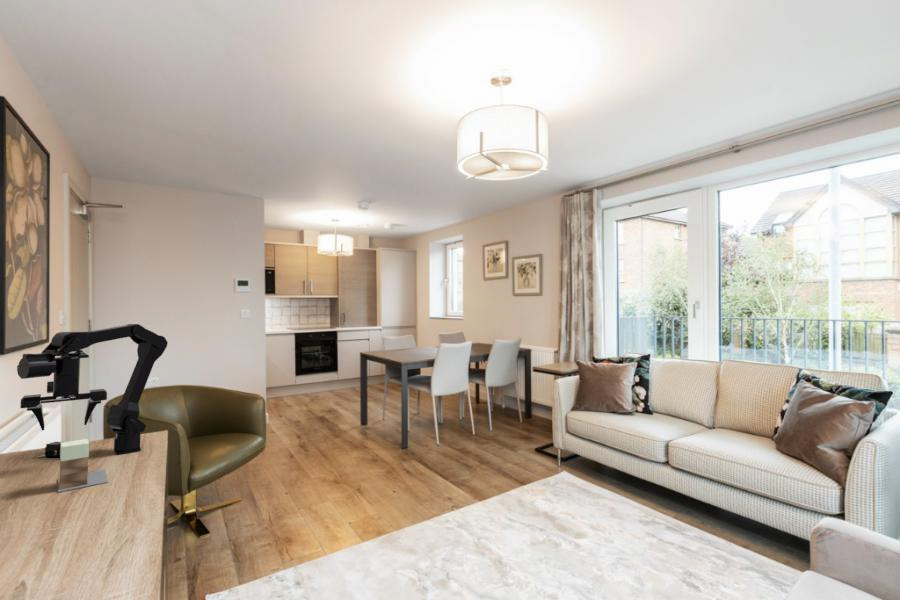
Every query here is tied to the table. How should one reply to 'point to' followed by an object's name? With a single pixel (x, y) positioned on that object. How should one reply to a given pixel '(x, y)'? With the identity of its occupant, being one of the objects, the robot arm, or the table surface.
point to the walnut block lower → (73, 480)
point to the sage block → (74, 449)
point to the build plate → (51, 450)
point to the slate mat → (90, 480)
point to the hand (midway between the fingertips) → (64, 427)
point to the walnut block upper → (73, 466)
